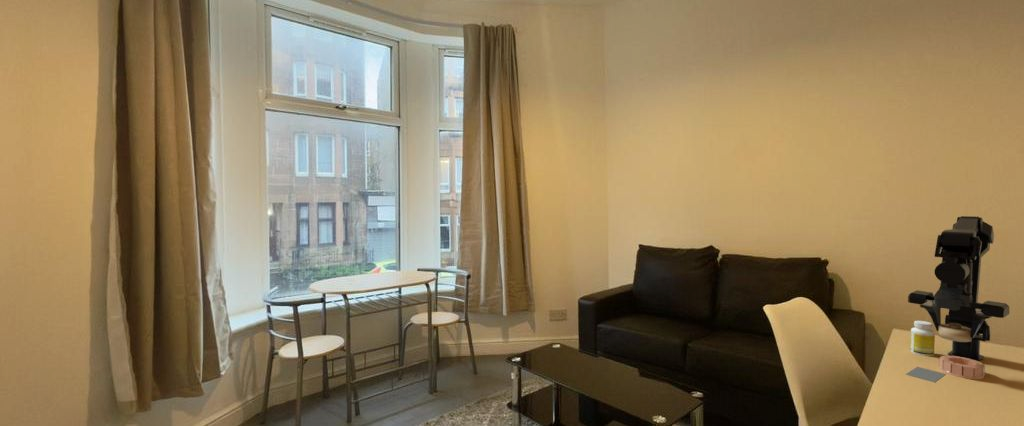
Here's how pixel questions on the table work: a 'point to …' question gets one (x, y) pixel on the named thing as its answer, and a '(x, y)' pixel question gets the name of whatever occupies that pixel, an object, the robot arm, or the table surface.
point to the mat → (925, 374)
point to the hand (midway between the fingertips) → (955, 334)
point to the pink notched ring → (962, 367)
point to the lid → (955, 332)
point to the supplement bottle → (922, 338)
